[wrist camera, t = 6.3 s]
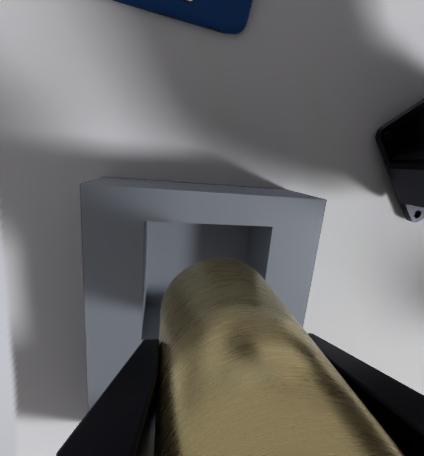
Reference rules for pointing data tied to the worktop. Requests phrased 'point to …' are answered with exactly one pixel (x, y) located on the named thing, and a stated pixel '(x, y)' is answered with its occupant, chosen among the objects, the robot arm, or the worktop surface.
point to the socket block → (181, 253)
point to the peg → (249, 375)
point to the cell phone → (201, 12)
